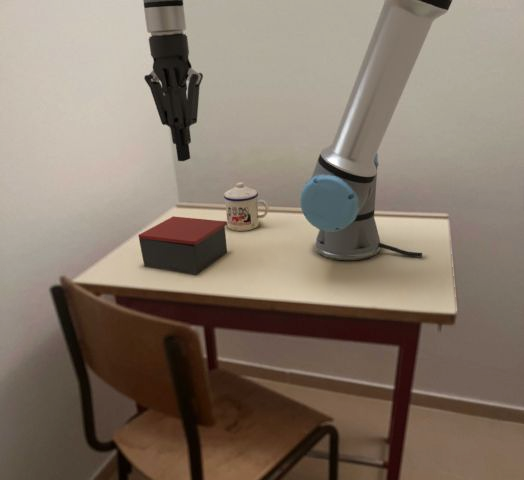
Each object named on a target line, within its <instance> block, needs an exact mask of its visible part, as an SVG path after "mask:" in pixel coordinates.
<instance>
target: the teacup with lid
mask: <svg viewBox="0 0 524 480" xmlns="http://www.w3.org/2000/svg"><path fill="white" fill-rule="evenodd" d="M235 185H236V186H233V187H232V188H231V189H229V190H227V191H225V192H224V194H223V198H224V201H225V212H226V221H227V225H226V226H227V228H228V229H230V230H232V231H238V232H245V231H250V230H254V229H256V228H257V227H258V226H259V224H260V223H259V222H260V220H259V219H264V218H265V217H266V216H267V215H268V213H269V208H270V207H269V203H268V202H267V201H266V200H263V199H258V196H259V193H258V191H257V190H256V189H255V188H250V187H248V186H246V185H245V183H244V182H242V181H241V182H237V183H236V184H235ZM258 204H262V205H263V206H264V208H265V211H264V213H263V214H260V215H259V205H258Z"/></svg>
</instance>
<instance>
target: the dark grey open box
mask: <svg viewBox="0 0 524 480" xmlns="http://www.w3.org/2000/svg"><path fill="white" fill-rule="evenodd" d="M226 235H227V234H226V226H224V227H223V228H221V229H220V230H218V231H217V232H215V233H214V234H212V235H210V236H209V237H207V238H206V239H204V240H203V241H201V242H199V243H198V244H196V245H192V244H183V243H175V242H167V241H158V240H150V239H141V238H139V237H138V240H139V245H140V251H141V257H142V261H143V266H144V267H146V268H151V269H152V268H153V269H158V270H165V271H170V272H175V273H181V274H188V275H193V276H198V275H200V273H202V272H203V271H204V270H206V269H207V268H209V267H210V266H212V265H213V264H214V263H215V262H217V261H218V260H221V258H223V257H224V256H225V255H227V254H228V248H227V237H226Z"/></svg>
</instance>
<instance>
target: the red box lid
mask: <svg viewBox="0 0 524 480" xmlns="http://www.w3.org/2000/svg"><path fill="white" fill-rule="evenodd" d="M224 226H225V227H226V226H228V225H227V220H216V219H205V218H195V217H194V218H193V217H184V216H170V217H169V218H167V219H165V220H163V221H162V222H159V223H158V224H156V225H154V226H153V227H150V228H148V229H147V230H144V231H143V232H142V233H139V234H138V239H139V238H141V239H150V240H158V241H167V242H175V243H183V244H192V245H196V244H198V243H199V242H201V241H203V240H204V239H206V238H207V237H209V236H210V235H212V234H214V233H215V232H217V231H218V230H220V229H221V228H223V227H224Z"/></svg>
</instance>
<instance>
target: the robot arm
mask: <svg viewBox="0 0 524 480" xmlns="http://www.w3.org/2000/svg"><path fill="white" fill-rule="evenodd" d="M142 1H143V2H142V3H143V7H144V8H143V10H144V11H143V12H144V17H145V27H146V31H147V33H148V34H150V35H151V36H149V38H148V45H149V51H150V56H151V58H152V60H153V63H152V71H150V73H149V74H146V75H145V74H144V81H145V83H146V84H147V85H148V87H149V89H150V92H151V96H152V98H153V102H154V104H155V107H156V110H157V113H158V116H159V120H160V122H161V125H163V126H167V127H169V130H170V134H171V140H172V144H173V145H175V150H176V156H177V157H176V158H177V161H178V162H185V161H188V160H190V159H191V153H190V144H191V142H192V139H191V130H190V129H191V128H190V127H191V126H193V125H195V124H197V122H198V114H199V113H198V112H199V102H200V101H199V99H200V86H201V84H202V80H203V78H204V75H203V73H202V72H197V71H196V70H194V69H193V68H192V64H191V62H190V59H189V56H190V49H189V41H188V36H187V34H186V33H184V31H186V30H187V25H186V16H185V15H186V14H185V7H184V0H142ZM452 2H453V0H383V5H382V8H381V11H380V13H379V15H378V19H377V21H376V24H375V27H374V29H373V31H372V34H371V37H370V40H369V42H368V45H367V48H366V51H365V53H364V57H363V59H362V61H361V65H360V67H359V70H358V72H357V75H356V77H355V81H354V83H353V86H352V89H351V92H350V94H349V97H348V99H347V102H346V104H345V108H344V111H343V113H342V115H341V118H340V121H339V124H338V127H337V129H336V132H335V134H334V137H333V139H332V143H331V144H330V145H328V146H326V147H324V148H322V149H321V150H320V153H319V156H318V158H317V162H316V164H315V167H314V169H313V172H312V175H311V178H310V179H309V180H307V182H306V183H305V185H304V186H303V187H302V191H301V193H300V200H299V203H300V209H301V212H302V213H303V214H302V215H303V216H304V218H305V219H306V220H307V222H308V223H309V224H310V225H311V226H312V227H314V228H315V229H318V233H317V237H316V239H315V251H316V252H317V254H318V255H320V256H321V257H324V258H327V259H331V260H336V261H359V260H365V259H369V258H371V257H374V256H375V255H377V254H379V252H380V250H381V249H383V250H387V251H392V252H394V253H396V254H397V253H398V254H400V255H404V256H408V257H416V258H417V257H418V258H422V257H423V252H415V251H407V250H404V249H400V248H399V247H395V246H392V245H389V244H386V243H382V242H381V238H380V234H379V231H378V227H377V223H376V219H375V208H376V192H377V177H378V167H379V157H378V151H379V148H380V146H381V143H382V142H383V139H384V136H385V134H386V132H387V130H388V127H389V125H390V123H391V120H392V118H393V115H394V113H395V111H396V108H397V106H398V103H399V102H400V100H401V96H402V95H403V92H404V90H405V88H406V85H407V83H408V81H409V78H410V76H411V74H412V72H413V69H414V67H415V64H416V62H417V60H418V57H419V55H420V53H421V51H422V48H423V45H424V43H425V41H426V38H427V36H428V34H429V31H430V30H431V27H432V25H433V23H434V21H435V20H437V19H438V18H440V17H442V16H444V15H445V14H447V13H448V11H449V10H450V7H451V4H452ZM187 81H188V83H187ZM187 84H188V85H187Z"/></svg>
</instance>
